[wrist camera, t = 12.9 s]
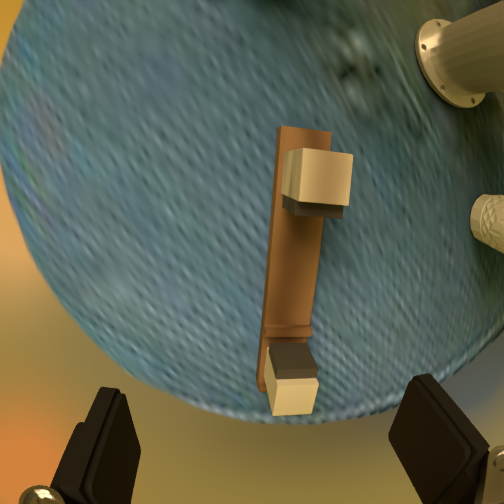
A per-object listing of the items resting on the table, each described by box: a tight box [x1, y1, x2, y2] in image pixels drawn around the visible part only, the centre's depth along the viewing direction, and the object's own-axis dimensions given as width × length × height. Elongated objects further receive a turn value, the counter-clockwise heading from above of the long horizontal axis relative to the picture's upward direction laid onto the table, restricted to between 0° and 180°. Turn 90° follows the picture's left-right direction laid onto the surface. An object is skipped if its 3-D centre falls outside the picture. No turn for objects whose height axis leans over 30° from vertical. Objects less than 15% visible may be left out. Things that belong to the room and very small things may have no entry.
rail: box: [256, 126, 353, 392], centre depth 30 cm, size 5×29×9 cm, turn 176°
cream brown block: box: [264, 342, 319, 416], centre depth 32 cm, size 4×5×7 cm
